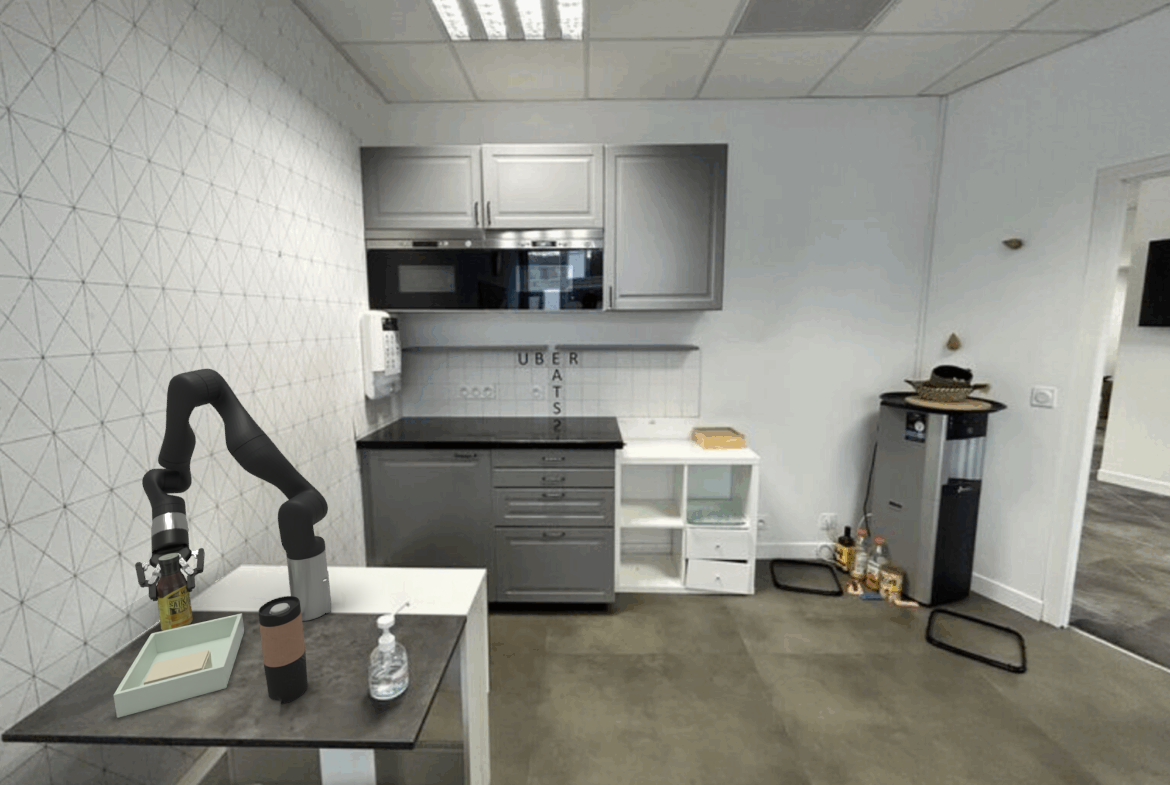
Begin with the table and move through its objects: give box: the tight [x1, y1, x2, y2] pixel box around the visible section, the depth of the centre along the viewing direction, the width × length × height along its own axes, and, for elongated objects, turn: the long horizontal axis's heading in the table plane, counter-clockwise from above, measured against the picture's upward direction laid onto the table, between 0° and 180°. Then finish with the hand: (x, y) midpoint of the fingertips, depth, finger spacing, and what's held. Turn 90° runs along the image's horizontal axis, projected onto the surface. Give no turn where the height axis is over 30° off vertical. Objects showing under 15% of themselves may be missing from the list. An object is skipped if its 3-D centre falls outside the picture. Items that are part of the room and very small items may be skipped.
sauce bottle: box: [156, 553, 194, 631], centre depth 124 cm, size 6×6×20 cm
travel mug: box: [258, 595, 308, 705], centre depth 105 cm, size 8×8×20 cm
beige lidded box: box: [143, 650, 212, 685], centre depth 107 cm, size 10×7×5 cm
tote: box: [113, 612, 245, 719], centre depth 112 cm, size 18×22×6 cm
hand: (172, 595), depth 123 cm, fingers closed on sauce bottle, 6 cm apart
